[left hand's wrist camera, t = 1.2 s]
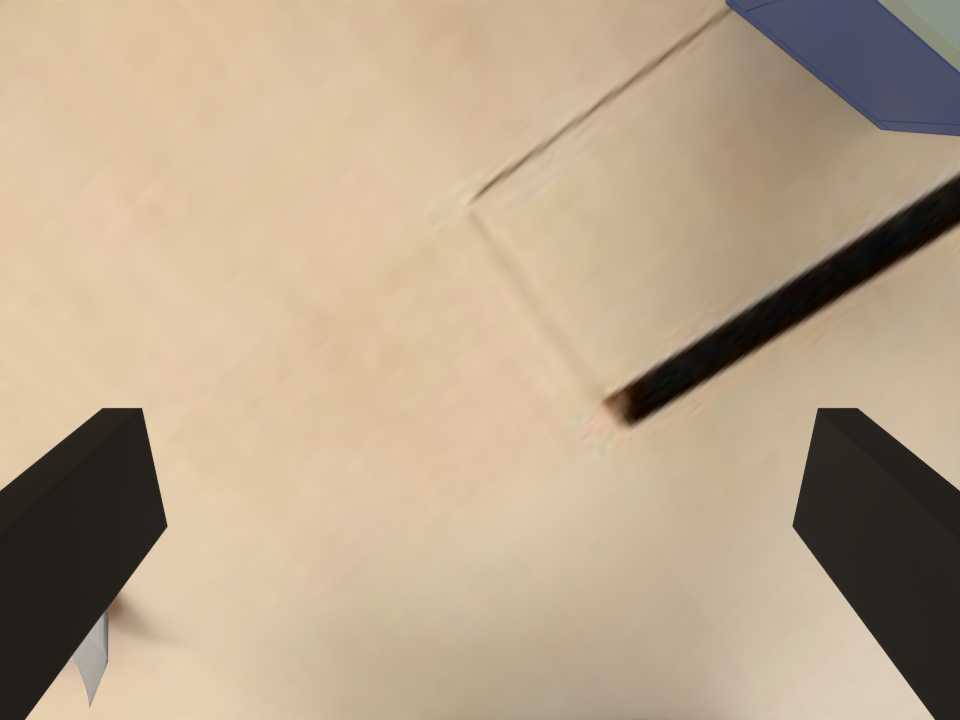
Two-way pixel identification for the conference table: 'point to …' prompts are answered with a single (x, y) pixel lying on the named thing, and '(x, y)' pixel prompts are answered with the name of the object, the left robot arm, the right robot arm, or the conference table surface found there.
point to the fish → (93, 656)
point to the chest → (865, 60)
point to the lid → (932, 24)
